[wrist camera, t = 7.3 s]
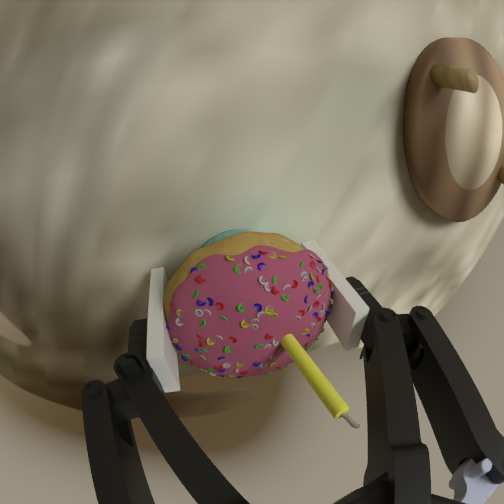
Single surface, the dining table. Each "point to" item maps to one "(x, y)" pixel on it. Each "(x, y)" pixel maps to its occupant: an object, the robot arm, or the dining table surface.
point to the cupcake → (252, 309)
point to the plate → (455, 127)
